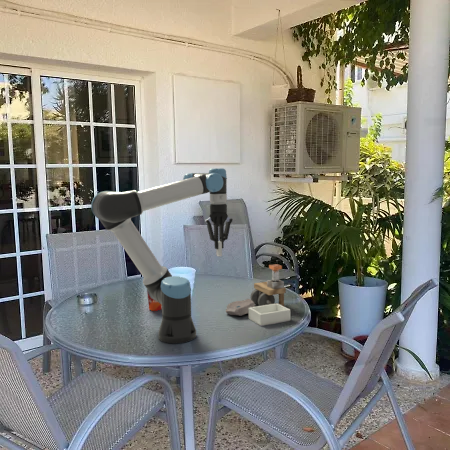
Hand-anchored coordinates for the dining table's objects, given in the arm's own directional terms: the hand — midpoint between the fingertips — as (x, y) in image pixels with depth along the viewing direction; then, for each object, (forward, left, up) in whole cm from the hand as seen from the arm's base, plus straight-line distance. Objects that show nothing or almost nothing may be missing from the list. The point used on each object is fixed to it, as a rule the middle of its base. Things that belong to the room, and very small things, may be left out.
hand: (219, 255), depth 198 cm
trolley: (+26, +3, -28) cm, 38 cm away
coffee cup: (-23, +25, -28) cm, 44 cm away
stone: (+10, -1, -29) cm, 30 cm away
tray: (+18, -14, -28) cm, 36 cm away
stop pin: (+29, -1, -18) cm, 34 cm away
